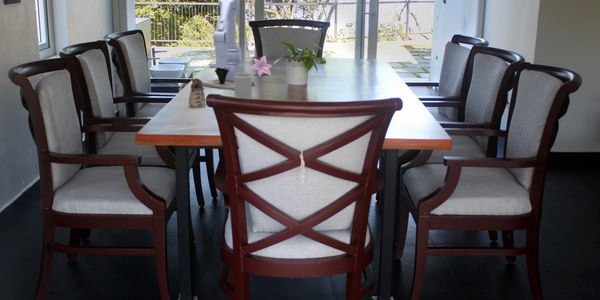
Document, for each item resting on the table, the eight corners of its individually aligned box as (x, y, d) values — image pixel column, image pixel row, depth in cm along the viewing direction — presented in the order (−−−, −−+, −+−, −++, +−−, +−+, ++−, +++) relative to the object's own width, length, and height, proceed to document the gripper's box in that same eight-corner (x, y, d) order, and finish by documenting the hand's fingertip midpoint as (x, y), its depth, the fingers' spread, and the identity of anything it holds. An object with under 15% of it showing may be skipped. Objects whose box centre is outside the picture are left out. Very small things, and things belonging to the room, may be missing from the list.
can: (242, 97, 316) (241, 71, 313) (255, 99, 312) (254, 72, 309) (231, 100, 310) (230, 73, 307) (244, 101, 306) (243, 74, 303)
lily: (247, 77, 381) (251, 63, 376) (249, 66, 391) (254, 52, 385) (268, 84, 383) (273, 69, 377) (270, 73, 392) (274, 58, 387)
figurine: (209, 105, 297) (208, 77, 294) (196, 108, 292) (195, 79, 289) (198, 104, 302) (197, 76, 299) (185, 106, 297) (184, 78, 294)
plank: (211, 83, 354) (210, 80, 354) (244, 87, 342) (244, 84, 342) (201, 85, 349) (201, 82, 348) (235, 89, 337) (235, 86, 336)
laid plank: (220, 81, 360) (220, 78, 360) (254, 85, 348) (254, 82, 348) (212, 83, 355) (212, 80, 355) (246, 86, 343) (245, 83, 342)
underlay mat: (219, 82, 361) (219, 81, 360) (255, 85, 348) (255, 85, 348) (200, 86, 349) (199, 85, 349) (235, 90, 336) (235, 89, 336)
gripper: (204, 55, 341) (205, 83, 345) (227, 57, 333) (228, 86, 336) (214, 54, 347) (215, 81, 350) (236, 56, 339) (237, 84, 342)
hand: (222, 83), depth 344 cm, fingers closed, pressing on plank
